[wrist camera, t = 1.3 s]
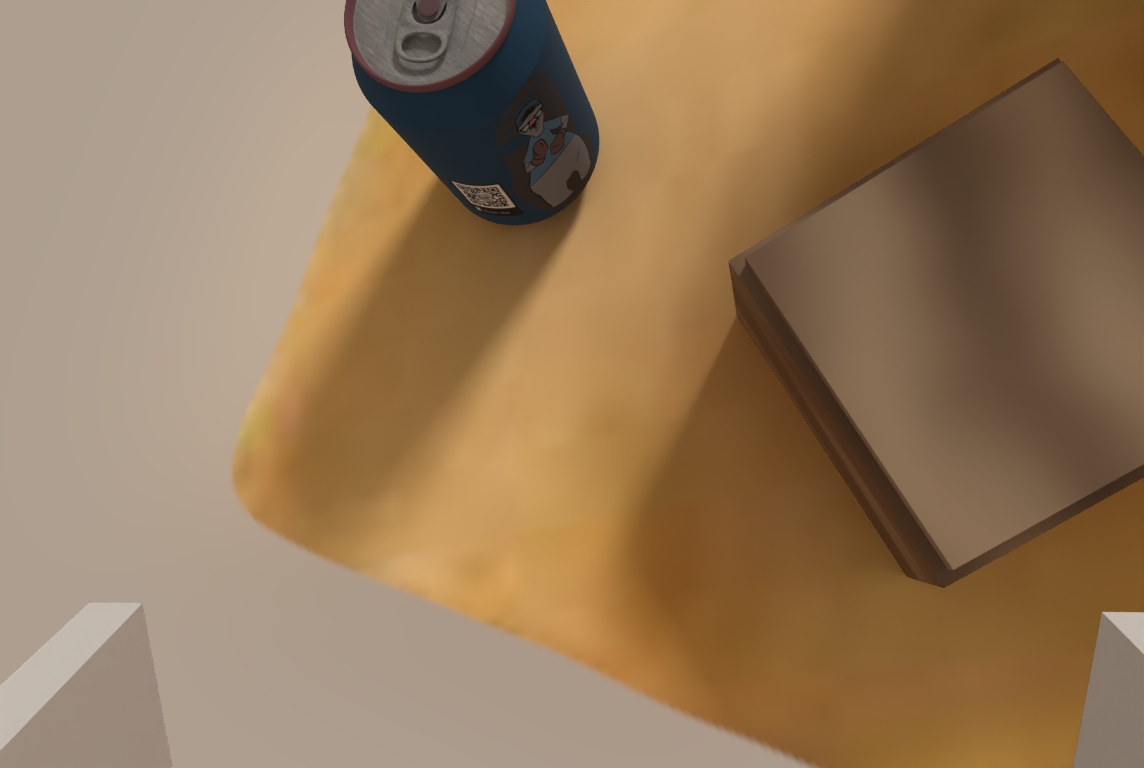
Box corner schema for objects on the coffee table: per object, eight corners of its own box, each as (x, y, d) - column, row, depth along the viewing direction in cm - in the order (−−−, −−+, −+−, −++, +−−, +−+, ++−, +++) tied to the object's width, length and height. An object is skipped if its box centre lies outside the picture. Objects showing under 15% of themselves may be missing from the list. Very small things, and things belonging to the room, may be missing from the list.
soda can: (471, 84, 40) (350, -98, 29) (617, 93, 38) (551, -96, 27) (442, 227, 39) (305, 98, 28) (590, 243, 37) (509, 112, 26)
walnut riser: (1000, 154, 34) (1066, 44, 27) (1203, 410, 31) (1344, 370, 23) (736, 314, 36) (727, 253, 28) (907, 576, 32) (949, 589, 25)
